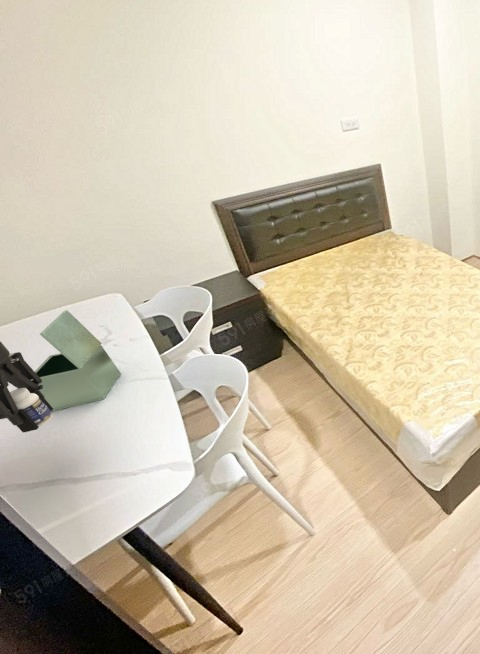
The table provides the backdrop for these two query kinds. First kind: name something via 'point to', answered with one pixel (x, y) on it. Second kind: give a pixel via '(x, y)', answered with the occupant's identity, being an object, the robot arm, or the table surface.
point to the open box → (76, 379)
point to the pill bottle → (32, 405)
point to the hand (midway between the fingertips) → (38, 420)
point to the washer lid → (71, 339)
